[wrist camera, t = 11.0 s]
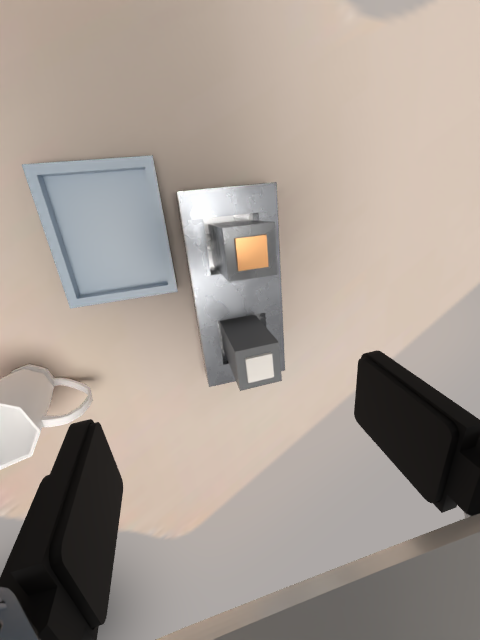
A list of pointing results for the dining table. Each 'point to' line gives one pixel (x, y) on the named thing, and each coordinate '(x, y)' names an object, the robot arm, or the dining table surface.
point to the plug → (251, 351)
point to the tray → (104, 228)
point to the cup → (30, 410)
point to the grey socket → (232, 264)
